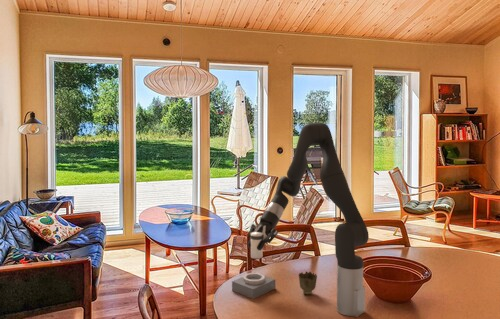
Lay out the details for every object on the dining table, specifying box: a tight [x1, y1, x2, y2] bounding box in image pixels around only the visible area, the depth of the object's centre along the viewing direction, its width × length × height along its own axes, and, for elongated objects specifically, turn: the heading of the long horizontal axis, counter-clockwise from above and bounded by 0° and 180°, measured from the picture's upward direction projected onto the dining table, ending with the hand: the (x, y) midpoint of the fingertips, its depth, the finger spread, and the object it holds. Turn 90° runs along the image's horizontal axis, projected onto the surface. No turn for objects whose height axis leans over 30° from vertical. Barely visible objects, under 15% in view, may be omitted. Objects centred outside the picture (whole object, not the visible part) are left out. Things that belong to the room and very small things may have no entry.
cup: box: [298, 271, 318, 296], centre depth 155 cm, size 8×7×8 cm
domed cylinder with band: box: [249, 232, 264, 260], centre depth 159 cm, size 5×5×10 cm
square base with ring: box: [231, 272, 276, 300], centre depth 159 cm, size 12×14×6 cm
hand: (253, 247), depth 158 cm, fingers closed on domed cylinder with band, 5 cm apart
